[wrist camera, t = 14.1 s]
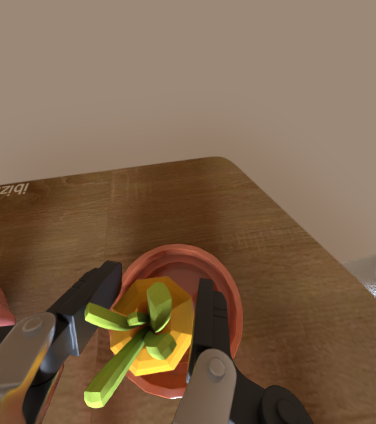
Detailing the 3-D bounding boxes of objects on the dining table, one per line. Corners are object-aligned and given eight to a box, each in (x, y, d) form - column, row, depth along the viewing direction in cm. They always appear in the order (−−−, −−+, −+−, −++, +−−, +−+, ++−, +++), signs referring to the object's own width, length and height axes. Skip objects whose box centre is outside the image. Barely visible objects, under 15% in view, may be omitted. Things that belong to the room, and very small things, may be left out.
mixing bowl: (218, 251, 25) (227, 237, 19) (240, 360, 20) (259, 385, 14) (131, 262, 25) (112, 251, 19) (129, 376, 20) (103, 409, 14)
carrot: (154, 349, 18) (75, 509, 4) (135, 300, 20) (35, 304, 6) (198, 320, 19) (242, 373, 6) (176, 276, 21) (168, 235, 7)
